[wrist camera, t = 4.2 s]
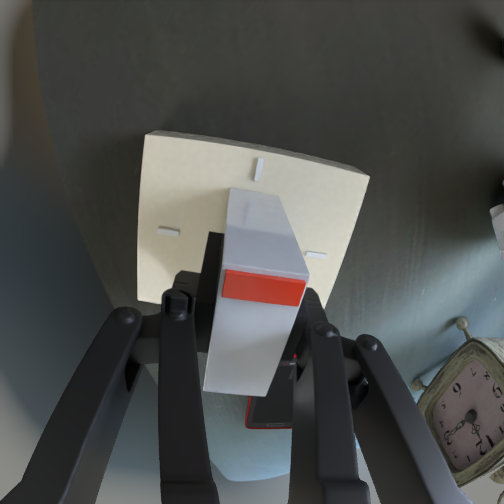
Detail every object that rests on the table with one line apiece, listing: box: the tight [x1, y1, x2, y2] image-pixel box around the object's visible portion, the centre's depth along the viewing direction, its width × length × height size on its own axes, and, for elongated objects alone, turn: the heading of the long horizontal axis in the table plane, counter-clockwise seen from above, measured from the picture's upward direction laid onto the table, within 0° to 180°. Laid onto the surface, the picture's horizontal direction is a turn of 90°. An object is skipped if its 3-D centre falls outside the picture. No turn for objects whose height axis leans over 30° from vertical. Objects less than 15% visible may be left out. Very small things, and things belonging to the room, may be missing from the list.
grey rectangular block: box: [203, 188, 310, 396], centre depth 15 cm, size 7×3×9 cm, turn 169°
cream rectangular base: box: [137, 130, 370, 309], centre depth 21 cm, size 14×12×3 cm
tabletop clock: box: [411, 316, 504, 504], centre depth 20 cm, size 14×9×25 cm, turn 166°
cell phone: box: [245, 354, 297, 429], centre depth 31 cm, size 8×15×1 cm, turn 174°
